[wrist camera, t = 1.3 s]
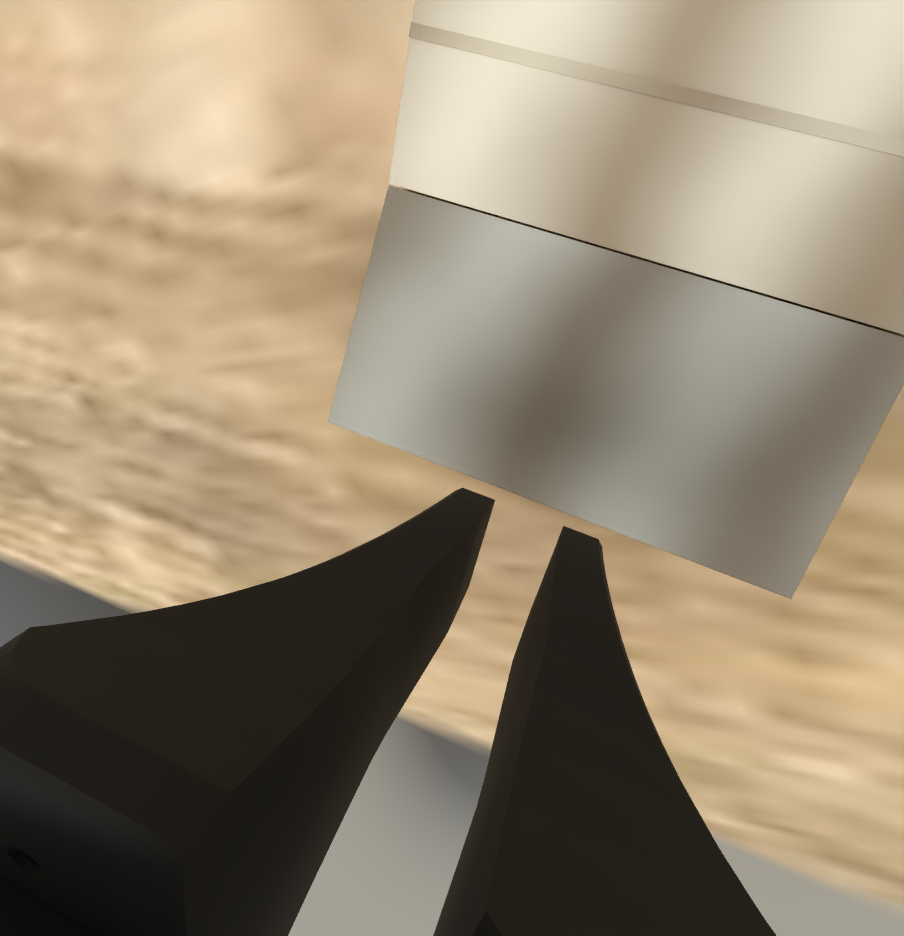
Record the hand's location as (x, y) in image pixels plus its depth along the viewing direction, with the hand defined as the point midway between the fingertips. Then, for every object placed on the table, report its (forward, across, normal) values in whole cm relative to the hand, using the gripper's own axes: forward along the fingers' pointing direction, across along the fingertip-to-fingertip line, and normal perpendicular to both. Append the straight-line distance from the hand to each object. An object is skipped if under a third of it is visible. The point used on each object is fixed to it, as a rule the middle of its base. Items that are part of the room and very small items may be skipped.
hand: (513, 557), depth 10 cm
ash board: (+9, 0, -8) cm, 12 cm away
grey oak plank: (+8, 0, 0) cm, 8 cm away
